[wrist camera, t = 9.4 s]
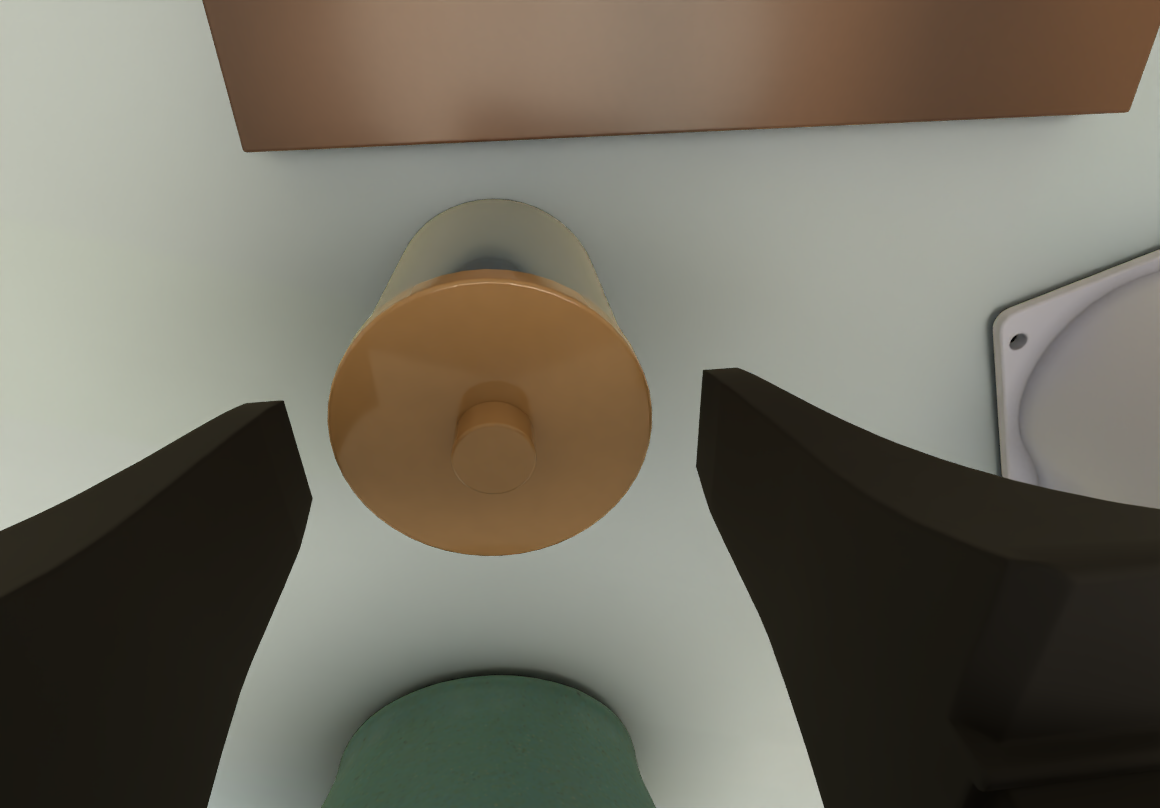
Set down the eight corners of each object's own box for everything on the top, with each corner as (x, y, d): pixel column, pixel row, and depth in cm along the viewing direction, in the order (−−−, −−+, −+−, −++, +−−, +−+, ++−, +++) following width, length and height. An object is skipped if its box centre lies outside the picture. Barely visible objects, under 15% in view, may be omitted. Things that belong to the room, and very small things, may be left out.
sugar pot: (630, 349, 18) (702, 521, 11) (452, 422, 19) (423, 625, 12) (553, 156, 15) (590, 233, 9) (348, 248, 16) (235, 386, 9)
